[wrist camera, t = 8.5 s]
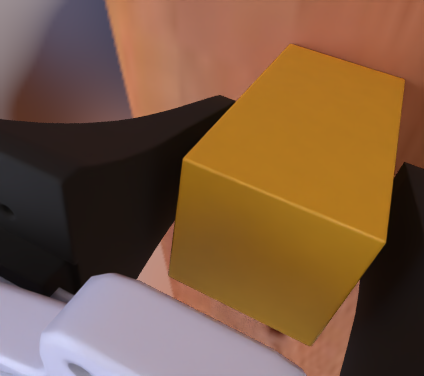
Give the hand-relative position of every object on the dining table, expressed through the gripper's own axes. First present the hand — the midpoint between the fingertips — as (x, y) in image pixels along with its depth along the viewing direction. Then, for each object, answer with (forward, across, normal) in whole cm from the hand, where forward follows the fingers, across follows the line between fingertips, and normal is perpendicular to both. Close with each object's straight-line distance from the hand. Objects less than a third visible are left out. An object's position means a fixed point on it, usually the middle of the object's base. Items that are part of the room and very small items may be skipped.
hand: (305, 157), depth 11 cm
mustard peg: (+3, 0, 0) cm, 3 cm away
